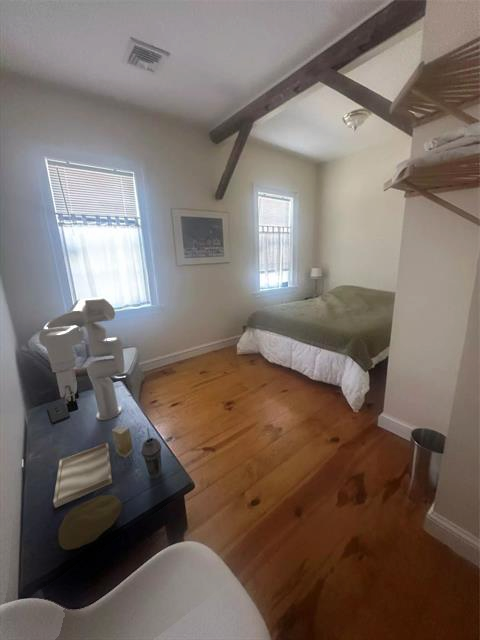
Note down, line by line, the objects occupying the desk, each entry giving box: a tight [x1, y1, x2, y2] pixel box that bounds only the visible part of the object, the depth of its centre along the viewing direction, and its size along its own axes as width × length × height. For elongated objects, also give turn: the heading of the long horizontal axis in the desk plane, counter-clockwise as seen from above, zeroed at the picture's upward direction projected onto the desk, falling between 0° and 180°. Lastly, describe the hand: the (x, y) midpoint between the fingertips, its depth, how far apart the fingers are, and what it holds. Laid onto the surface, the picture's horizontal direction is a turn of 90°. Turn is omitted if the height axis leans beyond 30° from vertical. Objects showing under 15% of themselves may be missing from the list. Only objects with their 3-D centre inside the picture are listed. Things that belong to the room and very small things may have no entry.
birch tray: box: [52, 442, 113, 508], centre depth 100 cm, size 22×18×2 cm
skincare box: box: [111, 424, 134, 459], centre depth 109 cm, size 6×4×12 cm
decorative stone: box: [58, 494, 123, 551], centre depth 77 cm, size 17×11×10 cm, turn 131°
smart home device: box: [47, 401, 71, 425], centre depth 143 cm, size 8×2×20 cm
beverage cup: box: [140, 427, 163, 479], centre depth 96 cm, size 7×7×20 cm
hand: (74, 404), depth 98 cm, fingers open, 9 cm apart
